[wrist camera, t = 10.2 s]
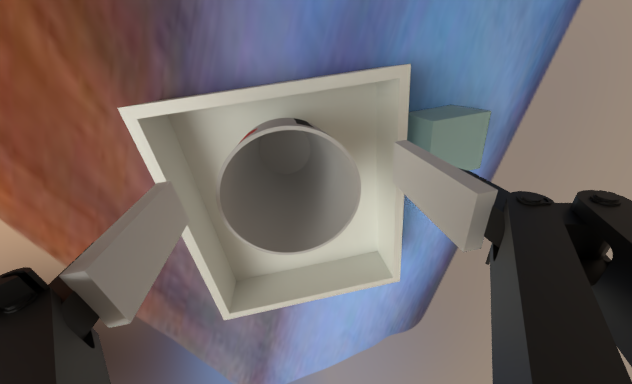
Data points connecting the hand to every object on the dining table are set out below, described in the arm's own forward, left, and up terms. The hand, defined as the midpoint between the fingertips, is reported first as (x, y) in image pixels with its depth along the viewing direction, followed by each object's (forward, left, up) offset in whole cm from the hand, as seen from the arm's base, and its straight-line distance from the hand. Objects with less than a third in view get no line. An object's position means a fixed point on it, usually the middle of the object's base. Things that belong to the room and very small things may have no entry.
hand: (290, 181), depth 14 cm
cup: (+1, 0, -9) cm, 9 cm away
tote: (+6, 0, -9) cm, 11 cm away
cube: (+2, +14, -10) cm, 17 cm away
